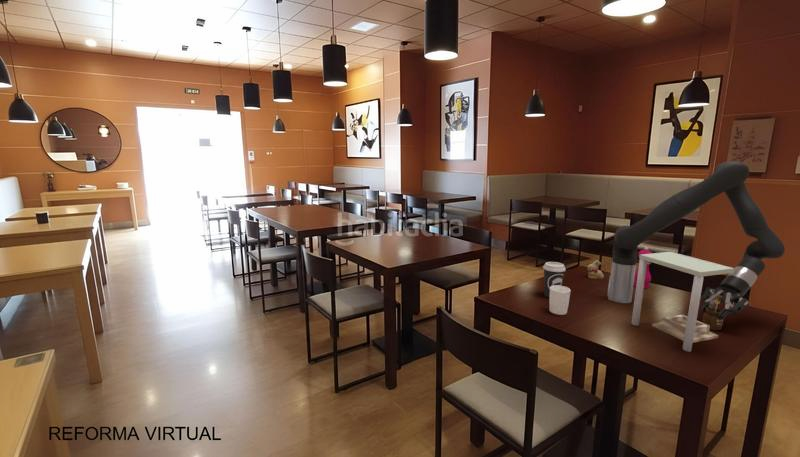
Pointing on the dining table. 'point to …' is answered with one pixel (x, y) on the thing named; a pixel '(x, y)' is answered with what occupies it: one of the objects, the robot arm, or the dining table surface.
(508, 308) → the dining table surface
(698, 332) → the socket block
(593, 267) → the chocolate bunny
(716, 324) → the utensil holder
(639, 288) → the white bench
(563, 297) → the white cup
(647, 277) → the pepper mill
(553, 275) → the coffee cup
